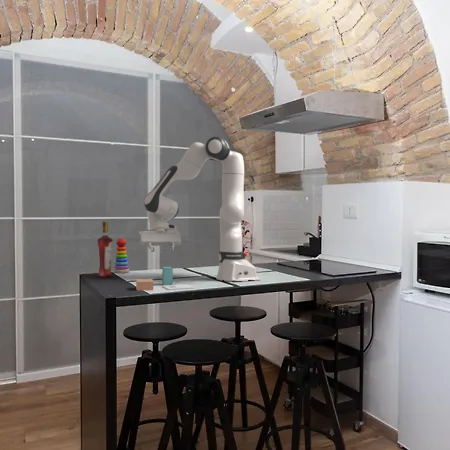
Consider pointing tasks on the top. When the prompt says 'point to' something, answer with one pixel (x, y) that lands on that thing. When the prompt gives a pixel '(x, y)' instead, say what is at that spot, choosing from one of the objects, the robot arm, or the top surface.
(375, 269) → the top surface
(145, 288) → the base brick
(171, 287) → the plate
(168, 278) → the teal brick
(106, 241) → the liquor
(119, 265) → the stacking toy
